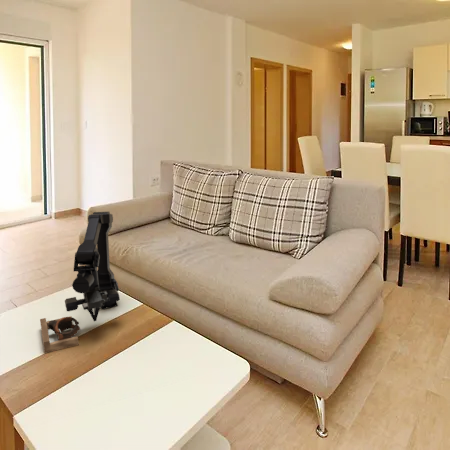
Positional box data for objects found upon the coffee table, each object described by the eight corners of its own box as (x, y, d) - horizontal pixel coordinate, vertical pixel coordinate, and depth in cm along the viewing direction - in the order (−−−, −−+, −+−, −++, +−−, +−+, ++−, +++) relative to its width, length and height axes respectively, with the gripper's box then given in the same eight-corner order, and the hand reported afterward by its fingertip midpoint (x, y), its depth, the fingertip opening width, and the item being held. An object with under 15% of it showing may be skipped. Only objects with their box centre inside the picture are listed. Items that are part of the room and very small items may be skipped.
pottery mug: (85, 329, 158) (83, 316, 152) (74, 351, 151) (72, 339, 145) (54, 322, 158) (51, 309, 152) (42, 343, 151) (39, 331, 145)
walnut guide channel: (72, 322, 163) (70, 312, 162) (78, 344, 146) (77, 334, 145) (41, 328, 158) (39, 319, 157) (44, 353, 142) (43, 342, 141)
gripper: (65, 295, 142) (71, 336, 146) (120, 284, 150) (124, 324, 154) (62, 284, 152) (67, 323, 156) (114, 274, 160) (118, 312, 164)
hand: (95, 320), depth 157 cm, fingers closed
